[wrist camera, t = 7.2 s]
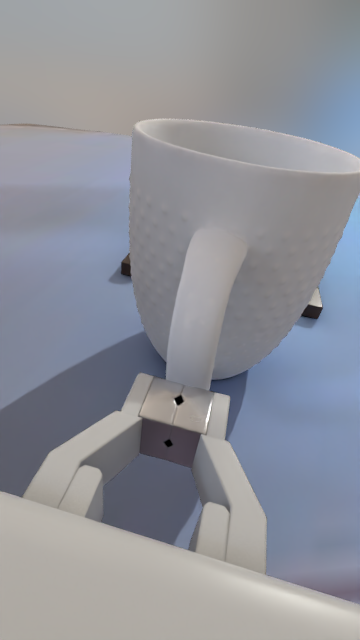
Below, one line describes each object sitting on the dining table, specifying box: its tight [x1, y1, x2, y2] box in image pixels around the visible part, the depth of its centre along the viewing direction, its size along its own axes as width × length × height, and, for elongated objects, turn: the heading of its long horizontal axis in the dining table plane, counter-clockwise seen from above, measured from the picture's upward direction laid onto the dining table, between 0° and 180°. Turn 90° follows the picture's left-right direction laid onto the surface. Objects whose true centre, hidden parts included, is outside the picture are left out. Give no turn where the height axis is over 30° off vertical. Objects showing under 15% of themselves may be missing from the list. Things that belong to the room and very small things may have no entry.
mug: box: [129, 119, 360, 390], centre depth 18 cm, size 15×11×13 cm
